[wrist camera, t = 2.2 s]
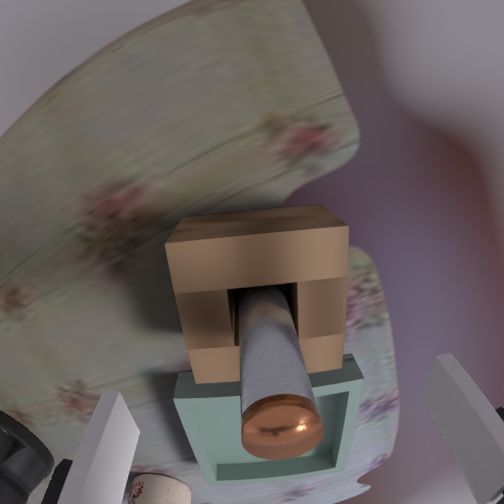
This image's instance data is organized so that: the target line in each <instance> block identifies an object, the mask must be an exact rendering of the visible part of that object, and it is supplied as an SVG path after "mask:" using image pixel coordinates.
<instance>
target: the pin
mask: <svg viewBox="0 0 504 504" xmlns="http://www.w3.org/2000/svg"><path fill="white" fill-rule="evenodd" d="M238 290H239V358H240V406H241V442H242V446H243V448H244V449H245V450H246V451H247V452H248V453H249V454H251V455H253V456H255V457H258V458H262V459H267V460H284V459H290V458H294V457H297V456H300V455H303V454H305V453H307V452H309V451H310V450H312V449H313V448H315V447H316V446H317V445H318V444H319V443H320V441H321V440H322V438H323V435H324V429H323V425H322V422H321V418H320V415H319V411H318V407H317V404H316V400H315V397H314V393H313V390H312V386H311V383H310V379H309V376H308V372H307V369H306V365H305V362H304V358H303V355H302V351H301V348H300V344H299V341H298V337H297V334H296V331H295V327H294V324H293V320H292V317H291V314H290V310H289V307H288V304H287V300H286V297H285V293H284V290H283V287H282V284H274V285H264V286H254V287H244V288H238Z"/></svg>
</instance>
